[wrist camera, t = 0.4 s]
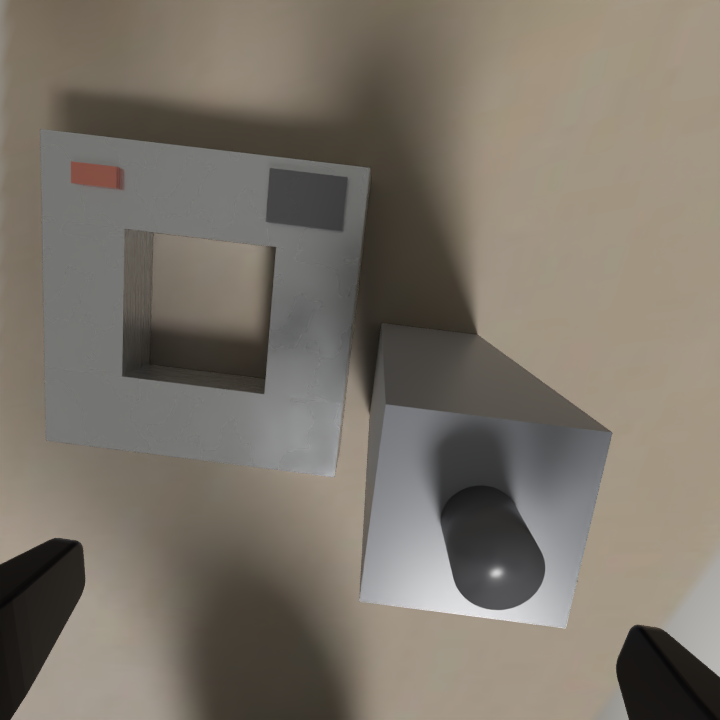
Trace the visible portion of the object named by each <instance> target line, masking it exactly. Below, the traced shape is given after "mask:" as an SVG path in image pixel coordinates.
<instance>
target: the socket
mask: <svg viewBox="0 0 720 720" xmlns="http://www.w3.org/2000/svg"><path fill="white" fill-rule="evenodd" d="M40 143H41V198H42V253H43V308H44V364H45V419H46V441H53V442H61V443H69V444H77V445H85V446H92V447H100V448H108V449H116V450H124V451H132V452H140V453H148V454H156V455H163V456H171V457H179V458H187V459H195V460H203V461H211V462H219V463H227V464H235V465H242V466H250V467H258V468H266V469H274V470H282V471H290V472H298V473H306V474H313V475H321V476H329V477H335V472H336V468H337V463H338V458H339V451H340V443H341V434H342V426H343V417H344V408H345V400H346V391H347V382H348V374H349V365H350V357H351V348H352V339H353V331H354V322H355V314H356V305H357V296H358V288H359V279H360V270H361V262H362V253H363V245H364V236H365V227H366V219H367V210H368V201H369V193H370V184H371V172H370V168H368V167H359V166H351V165H342V164H334V163H325V162H317V161H308V160H300V159H291V158H283V157H274V156H266V155H257V154H249V153H240V152H232V151H223V150H215V149H206V148H198V147H189V146H181V145H172V144H164V143H155V142H147V141H138V140H130V139H121V138H113V137H104V136H96V135H87V134H79V133H70V132H62V131H53V130H45V129H40ZM153 233H161V234H170V235H178V236H186V237H195V238H203V239H211V240H220V241H228V242H236V243H245V244H253V245H261V246H270V247H276V255H275V268H274V280H273V293H272V305H271V318H270V330H269V343H268V355H267V368H266V379H263V378H255V377H247V376H239V375H231V374H223V373H215V372H207V371H199V370H191V369H183V368H175V367H167V366H159V365H150V364H149V362H150V326H151V290H152V255H153Z"/></svg>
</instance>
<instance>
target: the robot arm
mask: <svg viewBox="0 0 720 720" xmlns="http://www.w3.org/2000/svg"><path fill="white" fill-rule="evenodd" d="M84 586H85V568H84V554H83V546H82V544H81V543H80V542H78V541H76V540H69V539H62V538H54V539H51V540H49V541H47V542H45V543H43V544H41V545H38V546H36V547H34V548H32V549H30V550H28V551H26V552H24V553H22V554H20V555H18V556H16V557H14V558H12V559H10V560H8V561H6V562H4V563H2V564H0V720H10V719H11V718H12V716H13V715H14V713H15V712H16V710H17V709H18V707H19V706H20V704H21V703H22V701H23V699H24V698H25V696H26V695H27V693H28V691H29V689H30V688H31V686H32V684H33V683H34V681H35V679H36V677H37V676H38V674H39V672H40V670H41V668H42V666H43V665H44V663H45V661H46V659H47V657H48V655H49V654H50V652H51V650H52V648H53V646H54V645H55V643H56V641H57V639H58V637H59V635H60V634H61V632H62V630H63V628H64V626H65V624H66V623H67V621H68V619H69V617H70V615H71V614H72V612H73V610H74V608H75V606H76V604H77V603H78V601H79V599H80V597H81V595H82V592H83V590H84ZM616 673H617V678H618V682H619V686H620V689H621V693H622V696H623V700H624V703H625V707H626V711H627V714H628V718H629V720H720V677H719V676H717V675H716V674H715V673H714V672H713V671H712V670H710V669H709V668H708V667H707V666H706V665H705V664H703V663H702V662H701V661H700V660H699V659H697V658H696V657H695V656H694V655H693V654H691V653H690V652H689V651H688V650H687V649H685V648H684V647H683V646H682V645H681V644H680V643H679V642H677V641H676V640H675V639H674V638H673V637H671V636H670V635H669V634H668V633H667V632H665V631H664V630H662V629H660V628H657V627H650V626H644V625H635V626H633V627H632V628H631V629H630V631H629V633H628V635H627V638H626V640H625V642H624V645H623V647H622V649H621V652H620V654H619V656H618V659H617V664H616Z"/></svg>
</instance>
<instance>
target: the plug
mask: <svg viewBox="0 0 720 720" xmlns="http://www.w3.org/2000/svg"><path fill="white" fill-rule="evenodd" d="M611 436H612V432H611V431H610V430H608V429H607V428H605V427H604V426H603V425H601V424H600V423H599V422H597V421H596V420H594V419H593V418H592V417H590V416H589V415H588V414H586V413H585V412H583V411H582V410H581V409H579V408H578V407H577V406H575V405H574V404H572V403H571V402H570V401H568V400H567V399H565V398H564V397H563V396H561V395H560V394H559V393H557V392H556V391H554V390H553V389H552V388H550V387H549V386H548V385H546V384H545V383H543V382H542V381H541V380H539V379H538V378H537V377H535V376H534V375H532V374H531V373H530V372H528V371H527V370H526V369H524V368H523V367H521V366H520V365H519V364H517V363H516V362H515V361H513V360H512V359H510V358H509V357H508V356H506V355H505V354H503V353H502V352H501V351H499V350H498V349H497V348H495V347H494V346H492V345H491V344H490V343H488V342H487V341H486V340H484V339H483V338H481V337H480V336H479V335H476V334H468V333H459V332H451V331H443V330H435V329H427V328H418V327H410V326H402V325H394V324H386V323H381V330H380V338H379V346H378V354H377V362H376V369H375V377H374V385H373V393H372V401H371V409H370V419H369V436H368V454H367V472H366V489H365V507H364V525H363V543H362V560H361V578H360V596H359V602H367V603H374V604H382V605H390V606H398V607H405V608H413V609H421V610H428V611H436V612H444V613H451V614H459V615H467V616H475V617H482V618H490V619H498V620H505V621H513V622H521V623H528V624H536V625H544V626H552V627H559V628H566V625H567V620H568V616H569V612H570V608H571V604H572V600H573V595H574V591H575V587H576V583H577V579H578V574H579V570H580V566H581V562H582V558H583V554H584V549H585V545H586V541H587V537H588V533H589V528H590V524H591V520H592V516H593V512H594V508H595V503H596V499H597V495H598V491H599V487H600V482H601V478H602V474H603V470H604V466H605V461H606V457H607V453H608V449H609V445H610V441H611Z"/></svg>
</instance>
